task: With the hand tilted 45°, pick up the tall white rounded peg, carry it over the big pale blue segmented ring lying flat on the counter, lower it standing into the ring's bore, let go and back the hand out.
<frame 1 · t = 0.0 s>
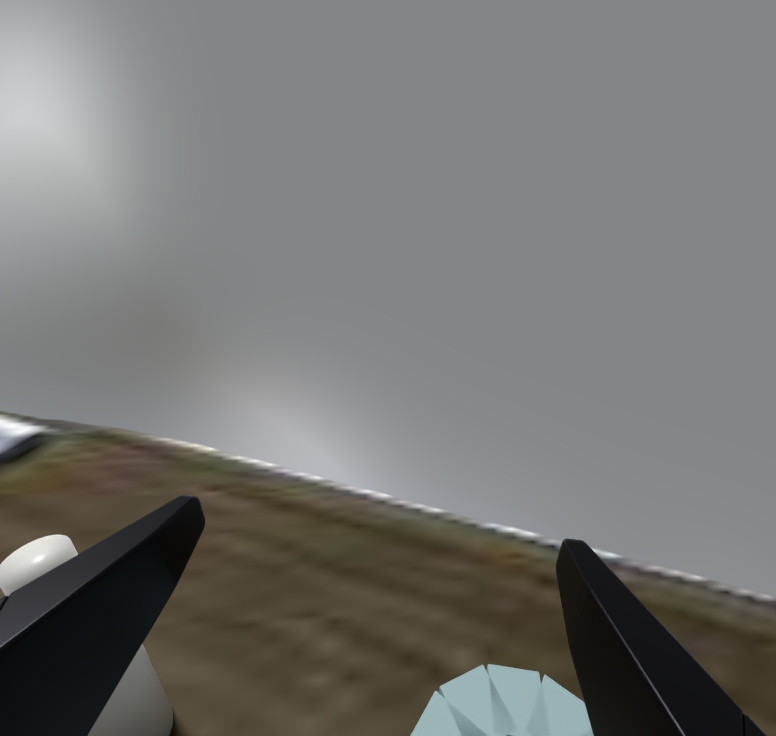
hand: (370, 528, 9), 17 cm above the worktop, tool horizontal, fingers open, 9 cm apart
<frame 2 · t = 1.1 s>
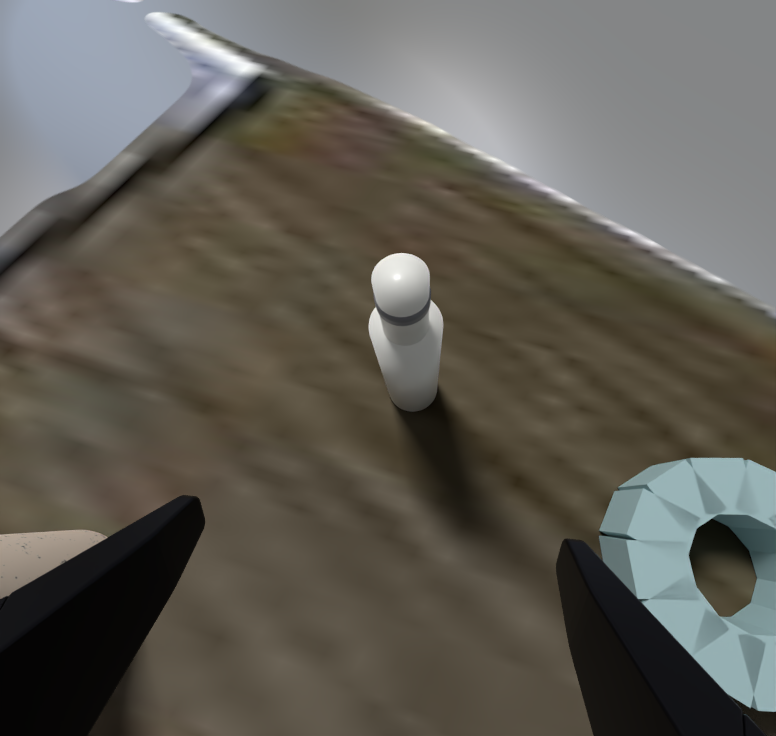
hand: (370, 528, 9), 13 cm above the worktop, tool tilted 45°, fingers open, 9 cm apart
pale blue segmented ring: (703, 562, 19), on the worktop
teacup with lid: (50, 633, 21), on the worktop
white rounded peg: (412, 387, 24), on the worktop
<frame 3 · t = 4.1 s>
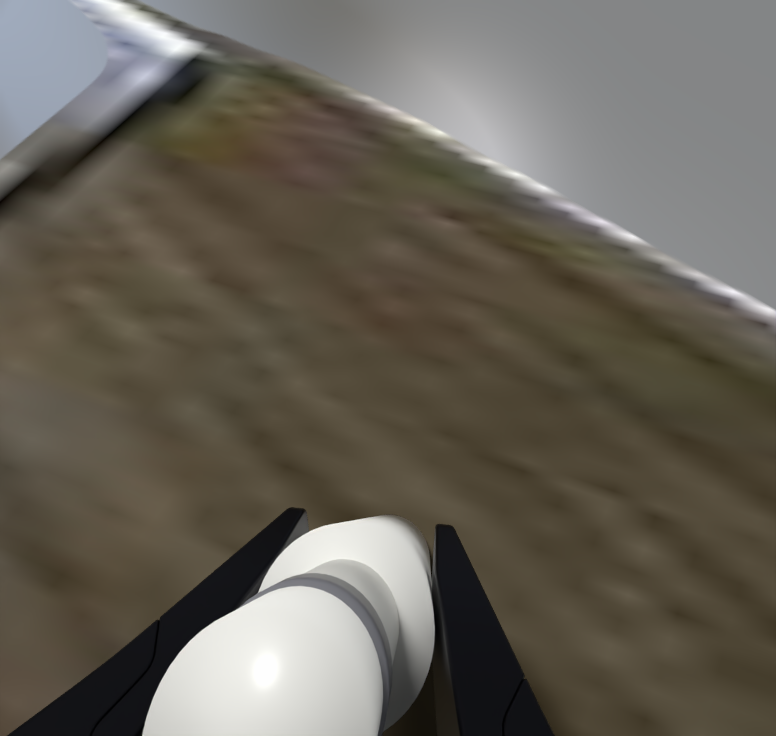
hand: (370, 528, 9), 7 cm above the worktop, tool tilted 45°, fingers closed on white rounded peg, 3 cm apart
white rounded peg: (389, 557, 15), on the worktop, touching gripper
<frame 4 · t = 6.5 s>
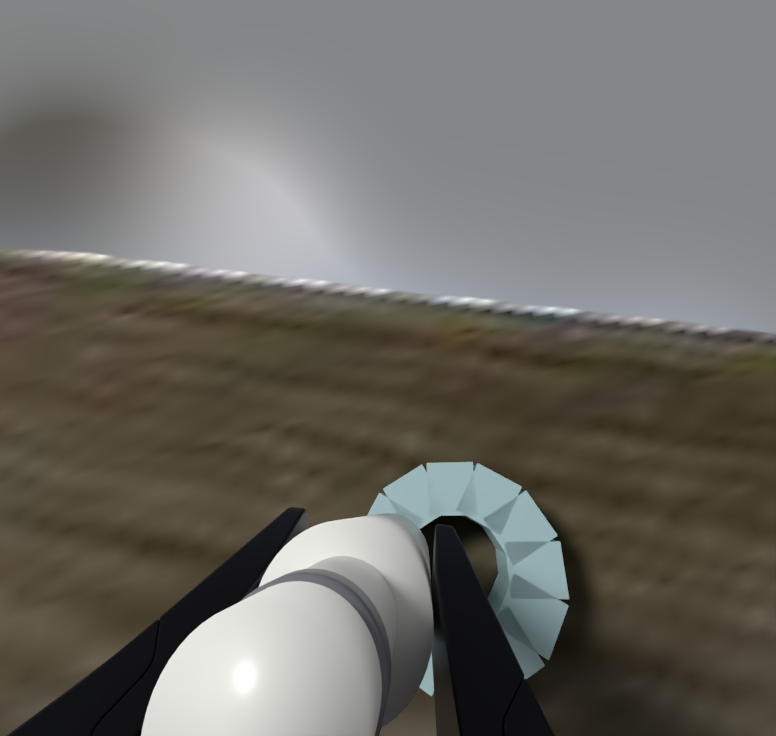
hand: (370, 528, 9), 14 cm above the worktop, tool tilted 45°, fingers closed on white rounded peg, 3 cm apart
pale blue segmented ring: (452, 560, 21), on the worktop
white rounded peg: (388, 556, 15), point 7 cm above the worktop, touching gripper
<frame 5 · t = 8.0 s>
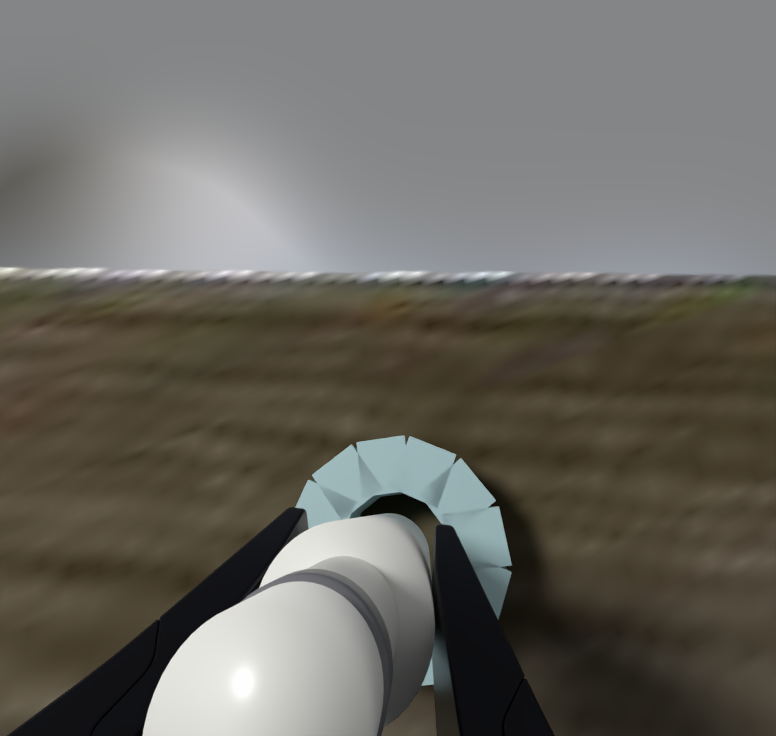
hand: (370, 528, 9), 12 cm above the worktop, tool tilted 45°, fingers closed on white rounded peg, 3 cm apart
pale blue segmented ring: (398, 543, 19), on the worktop
white rounded peg: (389, 556, 15), point 5 cm above the worktop, touching gripper
when the fingers open (8 cm above the worktop, at t = 9.1 s): white rounded peg stays where it is, resting in pale blue segmented ring.
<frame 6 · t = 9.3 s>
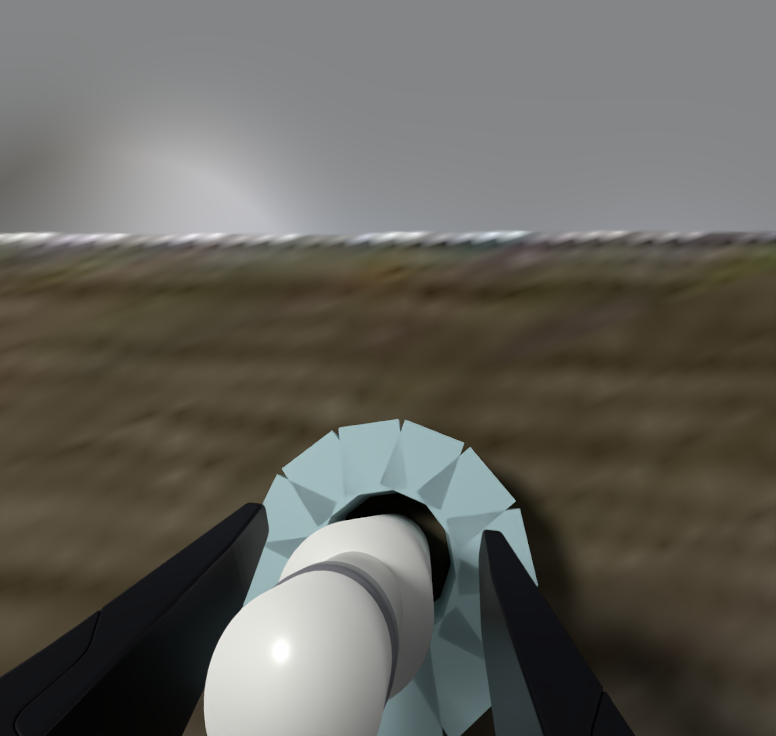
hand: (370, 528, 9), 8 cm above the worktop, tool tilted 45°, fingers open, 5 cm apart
pale blue segmented ring: (391, 554, 16), on the worktop
white rounded peg: (391, 554, 16), resting in pale blue segmented ring
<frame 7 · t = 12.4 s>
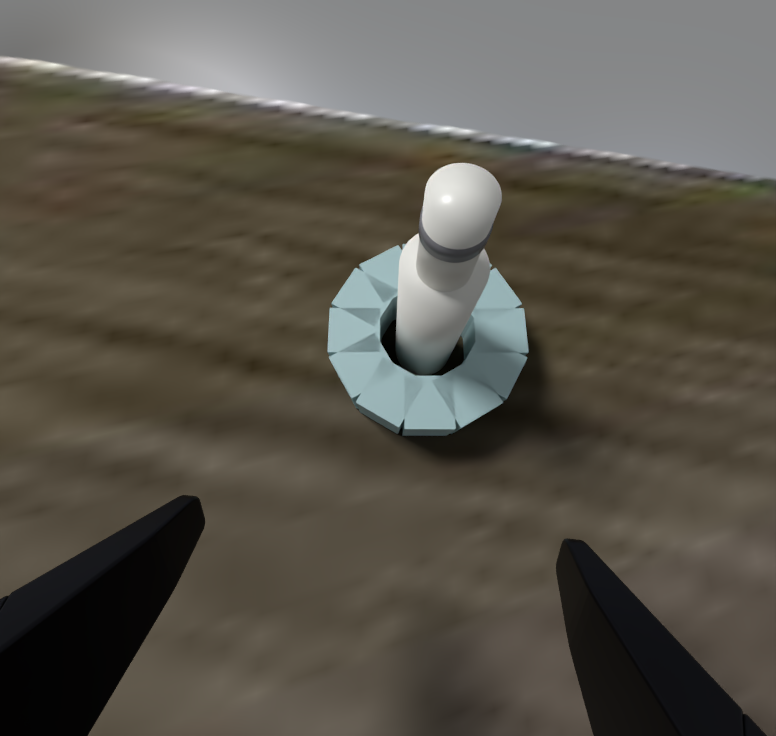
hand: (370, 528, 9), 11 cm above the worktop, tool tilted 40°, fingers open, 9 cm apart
pale blue segmented ring: (422, 349, 22), on the worktop
white rounded peg: (422, 349, 22), resting in pale blue segmented ring
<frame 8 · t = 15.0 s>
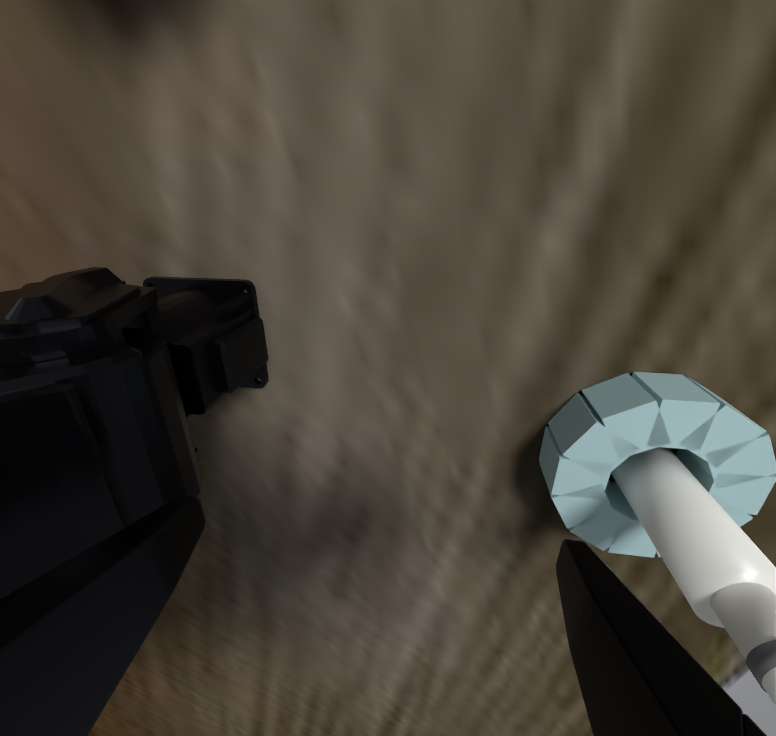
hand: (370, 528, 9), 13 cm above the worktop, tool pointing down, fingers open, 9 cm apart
pale blue segmented ring: (631, 450, 22), on the worktop
white rounded peg: (631, 450, 22), resting in pale blue segmented ring
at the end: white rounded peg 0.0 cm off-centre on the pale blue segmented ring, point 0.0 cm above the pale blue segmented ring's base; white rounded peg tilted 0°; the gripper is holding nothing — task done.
